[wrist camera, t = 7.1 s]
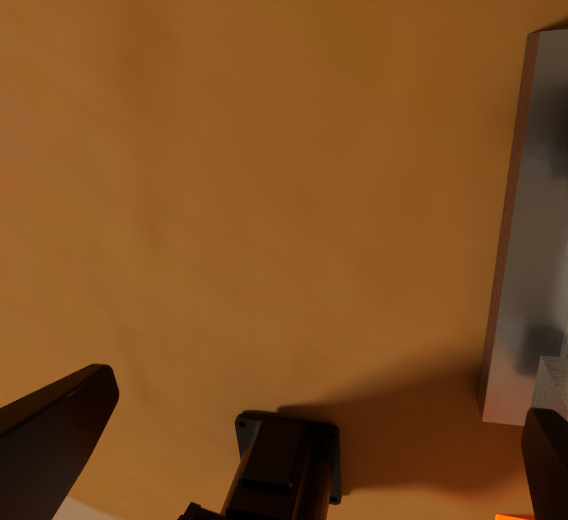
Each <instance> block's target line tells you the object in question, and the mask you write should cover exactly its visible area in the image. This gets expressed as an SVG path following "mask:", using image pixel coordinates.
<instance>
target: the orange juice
mask: <svg viewBox="0 0 568 520" xmlns="http://www.w3.org/2000/svg"><path fill="white" fill-rule="evenodd" d="M495 520H527V519H521V518H515V517H510V516H504V515H499V514H497V515H496V519H495Z"/></svg>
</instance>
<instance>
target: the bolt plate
mask: <svg viewBox="0 0 568 520" xmlns="http://www.w3.org/2000/svg"><path fill="white" fill-rule="evenodd" d="M477 402H478V406H479V410H480V414H481V418H482V421H483V422H492V423H501V424H510V425H519V426H524V425H525V420H526V415H527V411H528V410H529V409H530V408H532V407H537V408H547V409H553V410H555V411H557V412H558V413H559V414H560V415H561V416H563V417H564V418H565V419H566V420H567V421H568V29H562V30H552V31H541V32H536V33H532V34H528V36H527V43H526V50H525V57H524V64H523V72H522V79H521V86H520V93H519V101H518V108H517V115H516V122H515V129H514V137H513V144H512V151H511V158H510V166H509V173H508V180H507V187H506V194H505V202H504V209H503V216H502V223H501V231H500V238H499V245H498V252H497V259H496V267H495V274H494V281H493V288H492V296H491V303H490V310H489V317H488V325H487V332H486V339H485V346H484V353H483V361H482V368H481V375H480V382H479V390H478V397H477Z"/></svg>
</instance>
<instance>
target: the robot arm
mask: <svg viewBox="0 0 568 520" xmlns="http://www.w3.org/2000/svg"><path fill="white" fill-rule="evenodd" d="M118 399H119V389H118V386H117V382H116V379H115V376H114V372H113V369H112V368H111V367H110V366H109V365H107V364H97V363H96V364H91V365H89V366H87V367H84V368H82V369H80V370H78V371H76V372H74V373H72V374H70V375H68V376H66V377H64V378H62V379H60V380H58V381H55V382H53V383H51V384H49V385H47V386H45V387H43V388H41V389H39V390H37V391H35V392H33V393H31V394H29V395H26V396H24V397H22V398H20V399H18V400H16V401H14V402H12V403H10V404H8V405H6V406H4V407H2V408H0V520H52V518H53V517H54V515H55V514H56V512H57V510H58V509H59V507H60V506H61V504H62V502H63V501H64V499H65V497H66V496H67V494H68V493H69V491H70V489H71V488H72V486H73V485H74V483H75V481H76V480H77V478H78V476H79V475H80V473H81V472H82V470H83V468H84V467H85V465H86V463H87V461H88V460H89V458H90V456H91V454H92V452H93V450H94V448H95V446H96V444H97V442H98V440H99V438H100V436H101V434H102V432H103V430H104V428H105V426H106V424H107V422H108V420H109V418H110V416H111V414H112V412H113V410H114V408H115V406H116V404H117V402H118ZM242 421H243V422H242ZM244 422H245V423H244ZM235 428H236V434H237V440H238V446H239V452H240V458H241V461H240V464H239V466H238V469H237V471H236V474H235V477H234V479H233V482H232V484H231V487H230V489H229V492H228V494H227V497H226V500H225V502H224V505H223V507H222V510H221V512H220V514H219V513H216V512H213V511H210V510H207V509H204V508H202V507H201V505H199V504H196V503H193V502H191V503H190V505H189V506H188V508H187V510H186V511H185V513H184V515H180V517H179V519H177V520H326V518H327V512H328V505H329V504H333V505H337V504H340V503H341V498H342V484H341V454H340V431H339V429H338V427H337V426H335V425H332V424H325V423H316V422H308V421H300V420H292V419H284V418H276V417H267V416H259V415H251V414H239V415H238V416H237V418H236V420H235ZM330 433H333V434H330ZM521 447H522V455H523V460H524V465H525V470H526V475H527V480H528V485H529V490H530V495H531V500H532V505H533V510H534V516H535V520H568V421H567V420H566V419H565V418H564V417H563V416H561V415H560V414H559V413H558V412H557V411H555V410H553V409H547V408H537V407H532V408H530V409H529V410H528V411H527V415H526V420H525V425H524V430H523V435H522V441H521Z"/></svg>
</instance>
